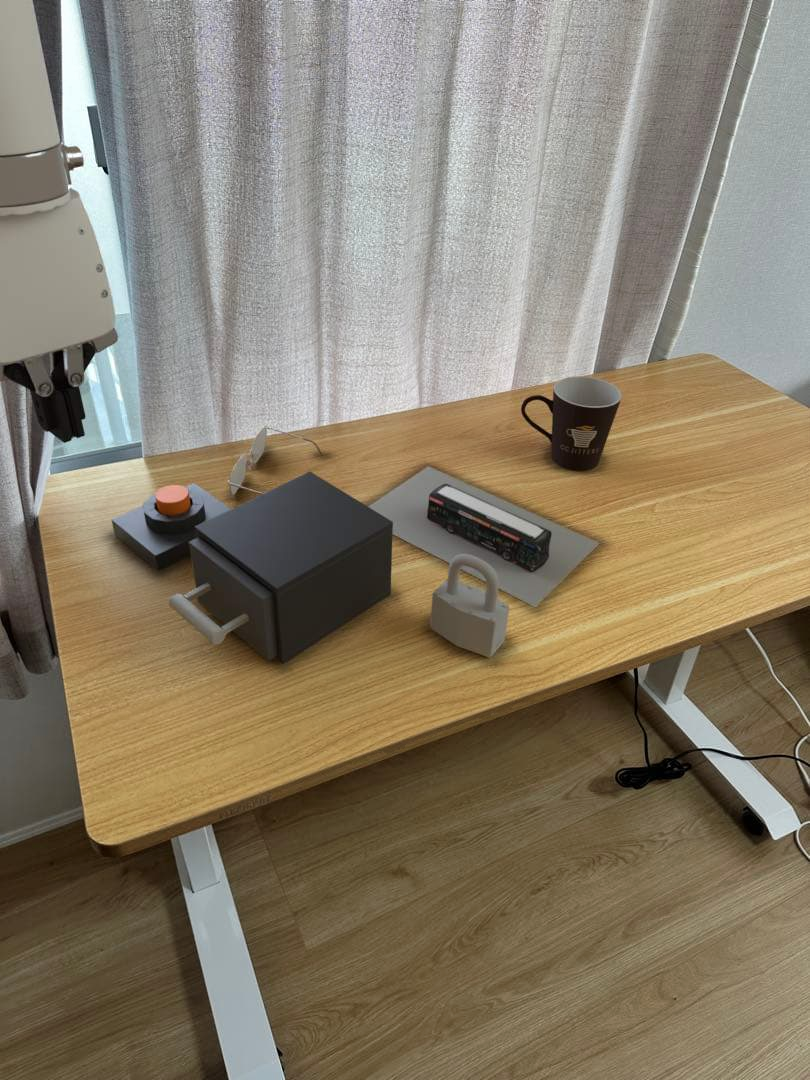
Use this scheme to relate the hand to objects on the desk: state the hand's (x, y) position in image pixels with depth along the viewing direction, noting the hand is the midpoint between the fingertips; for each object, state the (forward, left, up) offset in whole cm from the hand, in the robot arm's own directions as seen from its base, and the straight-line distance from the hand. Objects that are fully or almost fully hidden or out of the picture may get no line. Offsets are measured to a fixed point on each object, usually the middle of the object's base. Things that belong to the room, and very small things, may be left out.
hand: (65, 432), depth 61 cm
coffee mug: (+38, +50, -25) cm, 68 cm away
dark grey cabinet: (+13, +13, -25) cm, 31 cm away
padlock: (+31, +12, -25) cm, 42 cm away
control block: (-4, +20, -25) cm, 32 cm away
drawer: (+11, +10, -24) cm, 28 cm away
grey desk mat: (+29, +30, -25) cm, 49 cm away
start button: (-4, +20, -21) cm, 29 cm away
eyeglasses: (+3, +34, -25) cm, 42 cm away
